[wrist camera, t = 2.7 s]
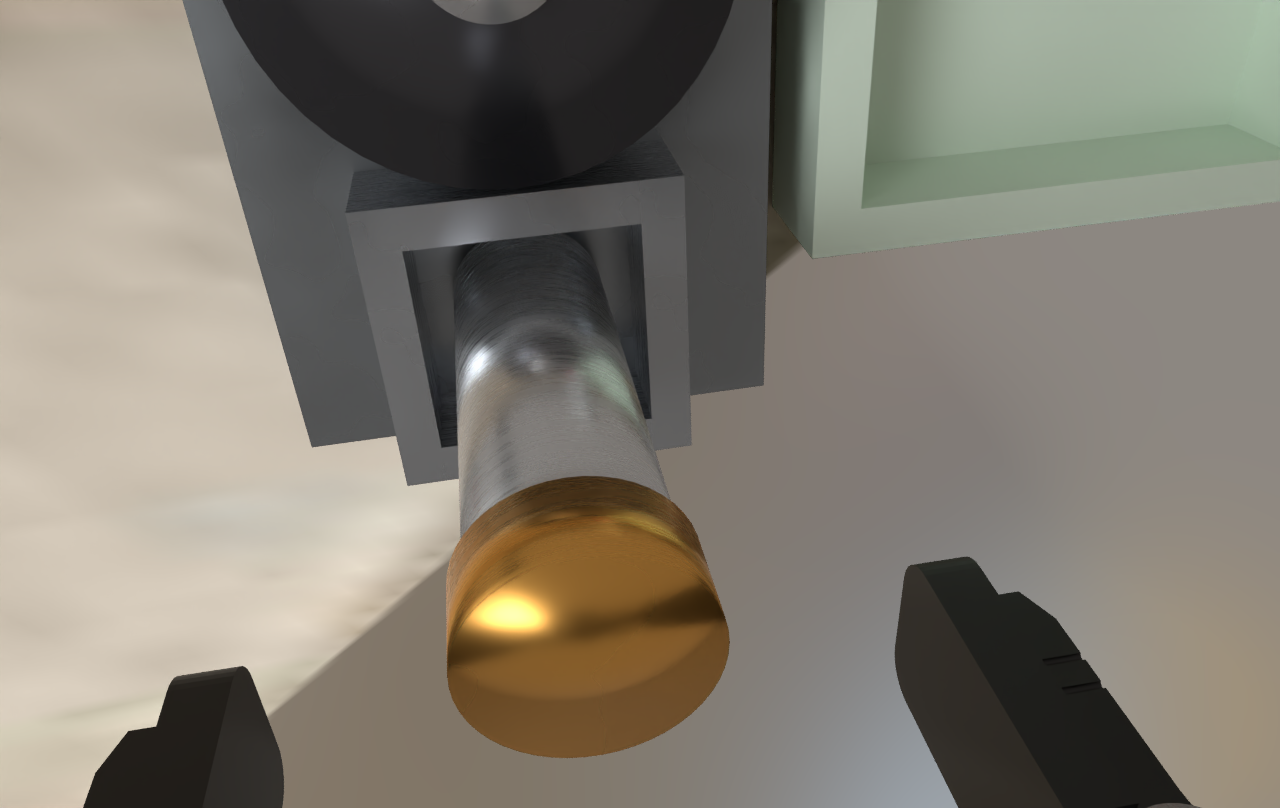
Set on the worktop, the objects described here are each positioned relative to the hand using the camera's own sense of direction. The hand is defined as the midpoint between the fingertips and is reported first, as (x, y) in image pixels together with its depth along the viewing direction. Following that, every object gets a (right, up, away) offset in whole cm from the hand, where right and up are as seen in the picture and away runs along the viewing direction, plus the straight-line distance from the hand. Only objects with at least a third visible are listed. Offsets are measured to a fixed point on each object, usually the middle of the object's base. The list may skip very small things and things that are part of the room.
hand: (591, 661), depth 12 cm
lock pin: (-2, +5, +8) cm, 10 cm away
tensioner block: (-2, +10, +8) cm, 13 cm away
